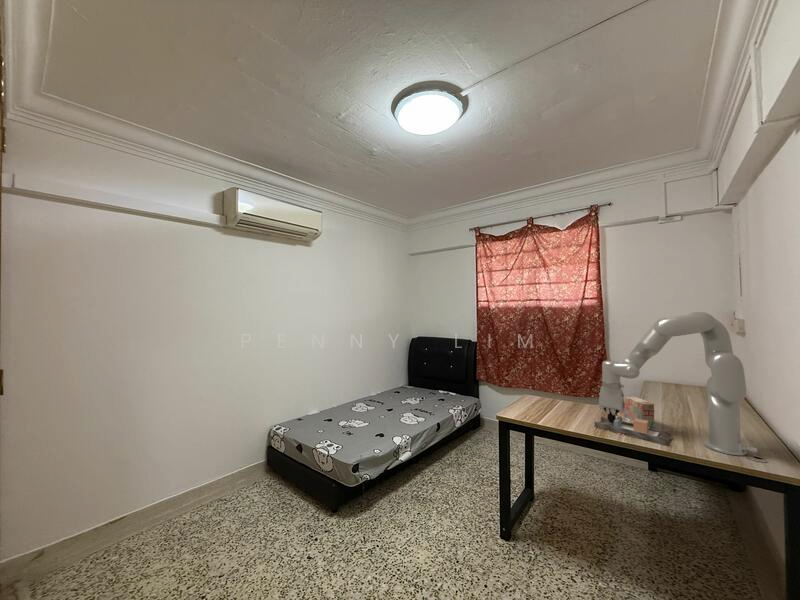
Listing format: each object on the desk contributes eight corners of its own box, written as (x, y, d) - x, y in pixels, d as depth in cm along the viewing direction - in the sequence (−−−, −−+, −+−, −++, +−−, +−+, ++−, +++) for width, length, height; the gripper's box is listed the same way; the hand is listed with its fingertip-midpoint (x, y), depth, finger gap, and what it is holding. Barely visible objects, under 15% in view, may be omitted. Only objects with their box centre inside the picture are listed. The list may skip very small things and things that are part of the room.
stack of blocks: (612, 413, 178) (612, 392, 178) (622, 413, 178) (622, 392, 179) (643, 428, 157) (642, 403, 157) (654, 427, 157) (654, 403, 157)
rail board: (671, 438, 143) (671, 432, 143) (667, 446, 135) (666, 439, 135) (601, 421, 164) (601, 416, 164) (594, 427, 156) (594, 421, 156)
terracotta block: (648, 431, 147) (648, 420, 147) (646, 434, 143) (646, 423, 144) (635, 428, 151) (635, 418, 151) (633, 431, 147) (633, 420, 147)
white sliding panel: (659, 434, 145) (658, 425, 146) (655, 439, 140) (655, 430, 140) (618, 424, 157) (618, 416, 157) (613, 429, 151) (613, 420, 152)
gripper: (631, 387, 153) (631, 424, 153) (596, 381, 165) (597, 416, 164) (627, 389, 148) (627, 428, 148) (592, 383, 160) (592, 419, 159)
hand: (611, 421), depth 156 cm, fingers closed
